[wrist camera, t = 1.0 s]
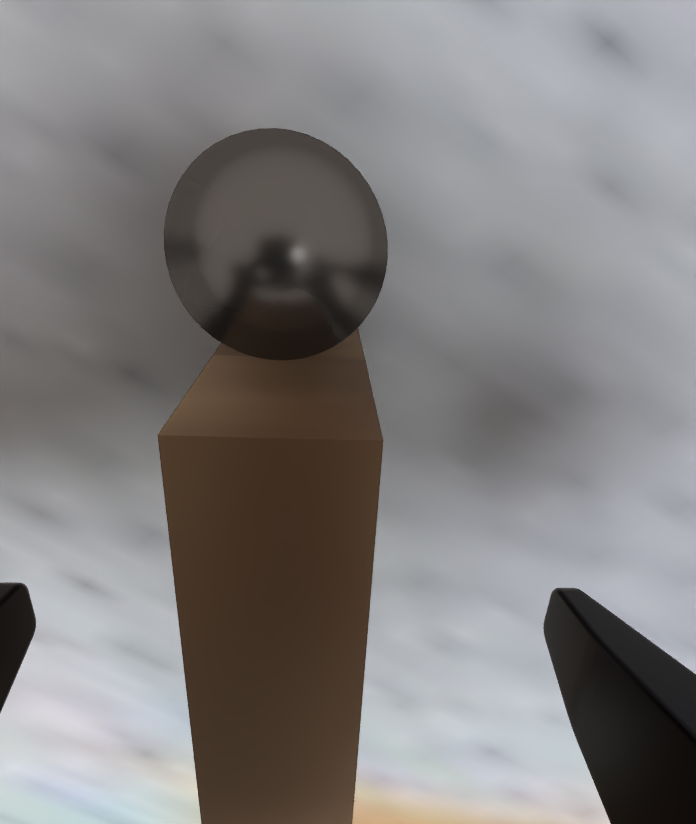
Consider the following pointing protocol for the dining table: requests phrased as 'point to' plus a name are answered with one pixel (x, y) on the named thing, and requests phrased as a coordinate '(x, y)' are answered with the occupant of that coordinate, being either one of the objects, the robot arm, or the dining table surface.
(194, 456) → the wooden frame
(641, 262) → the dining table surface
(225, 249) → the grey piece
